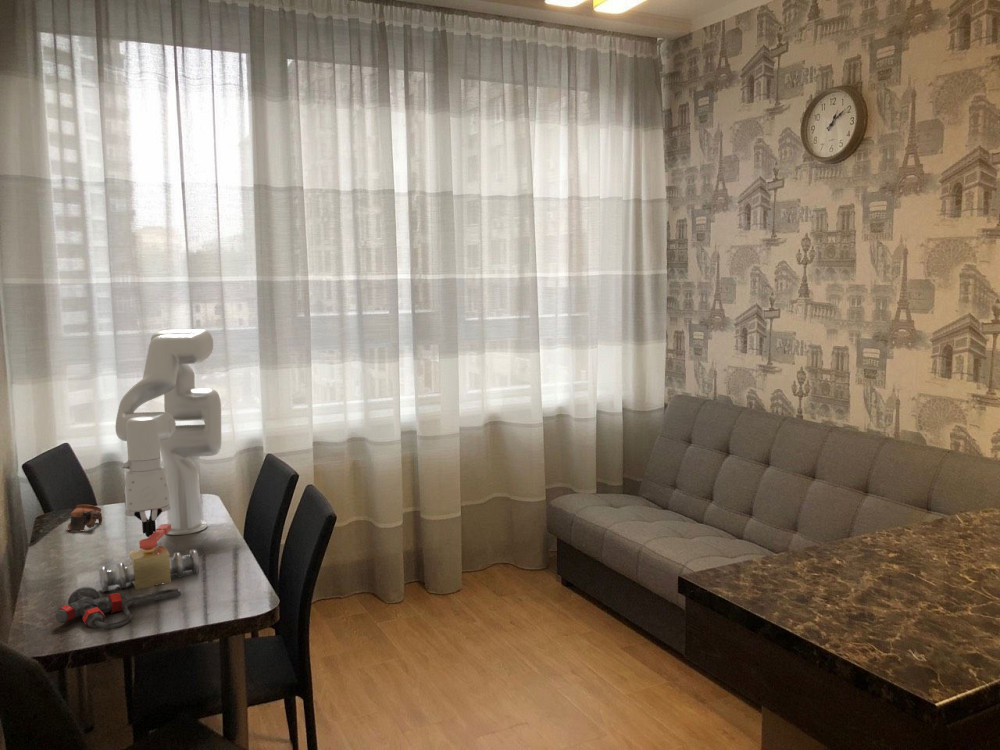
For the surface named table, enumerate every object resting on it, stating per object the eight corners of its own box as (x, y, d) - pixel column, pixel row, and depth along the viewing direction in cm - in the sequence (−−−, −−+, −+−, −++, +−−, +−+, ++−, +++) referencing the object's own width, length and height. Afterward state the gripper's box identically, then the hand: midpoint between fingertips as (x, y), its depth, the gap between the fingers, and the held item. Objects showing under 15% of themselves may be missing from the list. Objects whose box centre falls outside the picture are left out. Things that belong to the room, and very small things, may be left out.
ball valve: (100, 587, 193) (97, 552, 192) (194, 568, 205) (192, 535, 204) (103, 596, 188) (100, 560, 187) (200, 576, 199) (198, 542, 198)
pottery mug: (59, 531, 241) (66, 505, 244) (89, 538, 248) (95, 512, 251) (80, 527, 234) (87, 500, 238) (110, 534, 241) (116, 507, 245)
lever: (158, 530, 209) (158, 524, 208) (174, 529, 209) (174, 523, 209) (137, 549, 193) (136, 543, 193) (154, 548, 194) (153, 542, 193)
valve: (65, 651, 164) (50, 619, 175) (192, 621, 180) (171, 593, 192) (65, 623, 163) (50, 592, 174) (193, 596, 179) (172, 569, 190)
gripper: (114, 471, 195) (119, 544, 197) (178, 464, 203) (182, 533, 205) (110, 466, 202) (115, 536, 203) (173, 459, 209) (177, 526, 211)
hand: (149, 535), depth 204 cm, fingers closed
